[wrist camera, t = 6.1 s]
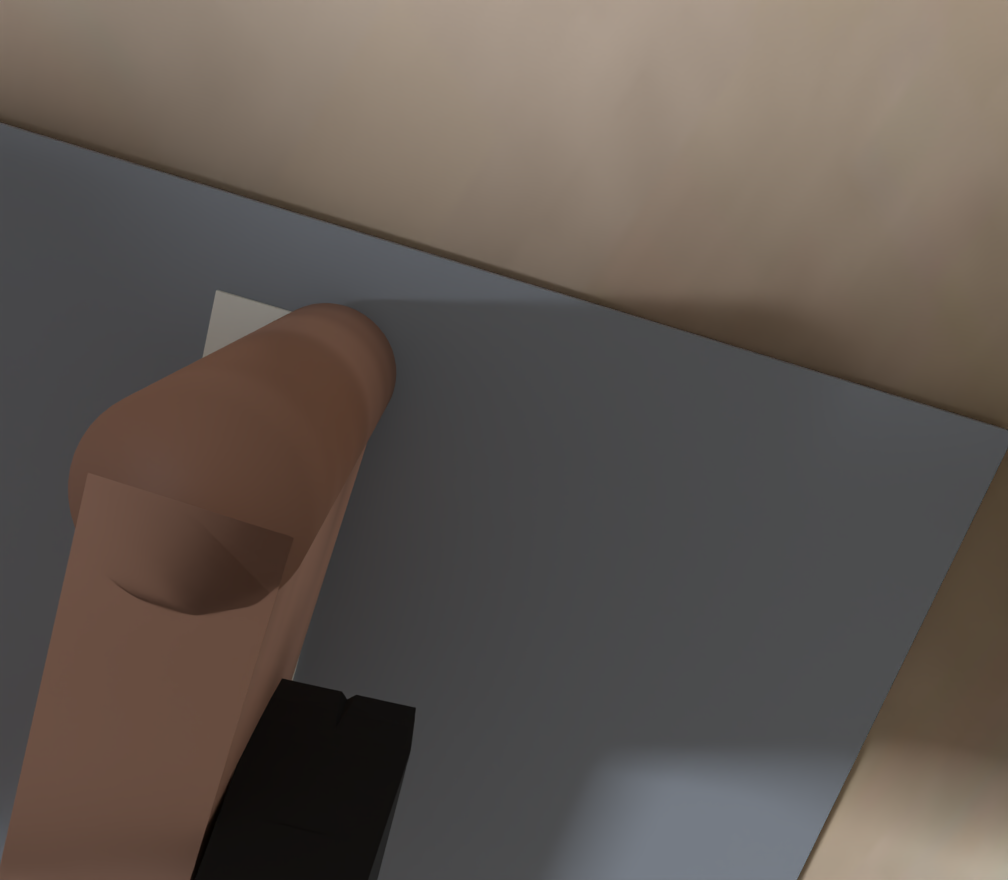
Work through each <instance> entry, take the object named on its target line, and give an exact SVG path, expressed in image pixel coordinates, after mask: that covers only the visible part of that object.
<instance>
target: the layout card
mask: <svg viewBox="0 0 1008 880" xmlns="http://www.w3.org/2000/svg"><path fill="white" fill-rule="evenodd" d="M318 303H333V304H340V305H343V306H347V307H350V308H352V309H355V310H357V311H359V312H360V313H362V314H364V315H365V316H367V317H368V318H369V319H371V320H372V321H373V322H374V323H375V324H376V325H377V326H378V327H379V328H380V330H381V331H382V332H383V333H384V335H385V336H386V338H387V340H388V341H389V344H390V346H391V348H392V351H393V354H394V357H395V363H396V383H395V387H394V392H393V394H392V397H391V399H390V401H389V403H388V405H387V407H386V409H385V410H384V412H383V414H382V416H381V418H380V420H379V422H378V423H377V425H376V427H375V429H374V431H373V433H372V434H371V436H370V438H369V440H368V442H367V445H366V448H365V451H364V454H363V457H362V460H361V464H360V467H359V470H358V473H357V476H356V479H355V482H354V486H353V489H352V492H351V495H350V498H349V501H348V504H347V508H346V511H345V514H344V517H343V520H342V523H341V526H340V530H339V533H338V536H337V539H336V542H335V545H334V548H333V552H332V555H331V558H330V561H329V564H328V567H327V570H326V574H325V577H324V580H323V583H322V586H321V589H320V592H319V595H318V599H317V602H316V605H315V608H314V611H313V614H312V617H311V621H310V624H309V627H308V630H307V633H306V636H305V639H304V643H303V646H302V649H301V652H300V655H299V658H298V661H297V665H296V668H295V671H294V674H293V677H292V681H296V682H301V683H306V684H310V685H315V686H319V687H324V688H328V689H333V690H338V691H342V692H343V694H344V695H345V697H346V698H347V699H349V698H351V697H353V696H354V695H360V696H365V697H370V698H374V699H379V700H383V701H388V702H392V703H397V704H402V705H406V706H411V707H415V708H416V712H415V722H414V730H413V738H412V745H411V752H410V756H409V760H408V763H407V767H406V771H405V775H404V779H403V783H402V787H401V790H400V794H399V798H398V802H397V806H396V810H395V814H394V817H393V821H392V825H391V829H390V833H389V837H388V841H387V845H386V848H385V852H384V856H383V860H382V864H381V868H380V872H379V875H378V879H377V880H797V878H798V876H799V874H800V872H801V870H802V868H803V866H804V864H805V862H806V860H807V858H808V856H809V854H810V852H811V850H812V848H813V846H814V844H815V841H816V839H817V837H818V835H819V833H820V831H821V829H822V827H823V825H824V823H825V821H826V819H827V817H828V815H829V813H830V811H831V809H832V807H833V805H834V803H835V801H836V798H837V796H838V794H839V792H840V790H841V788H842V786H843V784H844V782H845V780H846V778H847V776H848V774H849V772H850V770H851V768H852V766H853V764H854V762H855V760H856V758H857V756H858V753H859V751H860V749H861V747H862V745H863V743H864V741H865V739H866V737H867V735H868V733H869V731H870V729H871V727H872V725H873V723H874V721H875V719H876V717H877V715H878V713H879V711H880V708H881V706H882V704H883V702H884V700H885V698H886V696H887V694H888V692H889V690H890V688H891V686H892V684H893V682H894V680H895V678H896V676H897V674H898V672H899V670H900V668H901V665H902V663H903V661H904V659H905V657H906V655H907V653H908V651H909V649H910V647H911V645H912V643H913V641H914V639H915V637H916V635H917V633H918V631H919V629H920V627H921V625H922V623H923V620H924V618H925V616H926V614H927V612H928V610H929V608H930V606H931V604H932V602H933V600H934V598H935V596H936V594H937V592H938V590H939V588H940V586H941V584H942V582H943V580H944V578H945V575H946V573H947V571H948V569H949V567H950V565H951V563H952V561H953V559H954V557H955V555H956V553H957V551H958V549H959V547H960V545H961V543H962V541H963V539H964V537H965V535H966V532H967V530H968V528H969V526H970V524H971V522H972V520H973V518H974V516H975V514H976V512H977V510H978V508H979V506H980V504H981V502H982V500H983V498H984V496H985V494H986V492H987V490H988V487H989V485H990V483H991V481H992V479H993V477H994V475H995V473H996V471H997V469H998V467H999V465H1000V463H1001V461H1002V459H1003V457H1004V455H1005V453H1006V451H1007V449H1008V430H1007V429H1005V428H1001V427H998V426H995V425H992V424H988V423H985V422H982V421H978V420H975V419H972V418H969V417H965V416H962V415H959V414H955V413H952V412H949V411H946V410H942V409H939V408H936V407H933V406H929V405H926V404H923V403H919V402H916V401H913V400H910V399H906V398H903V397H900V396H896V395H893V394H890V393H887V392H883V391H880V390H877V389H874V388H870V387H867V386H864V385H860V384H857V383H854V382H851V381H847V380H844V379H841V378H837V377H834V376H831V375H828V374H824V373H821V372H818V371H814V370H811V369H808V368H805V367H801V366H798V365H795V364H792V363H788V362H785V361H782V360H778V359H775V358H772V357H769V356H765V355H762V354H759V353H755V352H752V351H749V350H746V349H742V348H739V347H736V346H733V345H729V344H726V343H723V342H719V341H716V340H713V339H710V338H706V337H703V336H700V335H696V334H693V333H690V332H687V331H683V330H680V329H677V328H673V327H670V326H667V325H664V324H660V323H657V322H654V321H651V320H647V319H644V318H641V317H637V316H634V315H631V314H628V313H624V312H621V311H618V310H614V309H611V308H608V307H605V306H601V305H598V304H595V303H591V302H588V301H585V300H582V299H578V298H575V297H572V296H569V295H565V294H562V293H559V292H555V291H552V290H549V289H546V288H542V287H539V286H536V285H532V284H529V283H526V282H523V281H519V280H516V279H513V278H510V277H506V276H503V275H500V274H496V273H493V272H490V271H487V270H483V269H480V268H477V267H473V266H470V265H467V264H464V263H460V262H457V261H454V260H450V259H447V258H444V257H441V256H437V255H434V254H431V253H428V252H424V251H421V250H418V249H414V248H411V247H408V246H405V245H401V244H398V243H395V242H391V241H388V240H385V239H382V238H378V237H375V236H372V235H369V234H365V233H362V232H359V231H355V230H352V229H349V228H346V227H342V226H339V225H336V224H332V223H329V222H326V221H323V220H319V219H316V218H313V217H309V216H306V215H303V214H300V213H296V212H293V211H290V210H287V209H283V208H280V207H277V206H273V205H270V204H267V203H264V202H260V201H257V200H254V199H250V198H247V197H244V196H241V195H237V194H234V193H231V192H228V191H224V190H221V189H218V188H214V187H211V186H208V185H205V184H201V183H198V182H195V181H191V180H188V179H185V178H182V177H178V176H175V175H172V174H168V173H165V172H162V171H159V170H155V169H152V168H149V167H146V166H142V165H139V164H136V163H132V162H129V161H126V160H123V159H119V158H116V157H113V156H109V155H106V154H103V153H100V152H96V151H93V150H90V149H87V148H83V147H80V146H77V145H73V144H70V143H67V142H64V141H60V140H57V139H54V138H50V137H47V136H44V135H41V134H37V133H34V132H31V131H27V130H24V129H21V128H18V127H14V126H11V125H8V124H5V123H1V122H0V863H1V859H2V854H3V850H4V845H5V841H6V836H7V832H8V827H9V823H10V818H11V814H12V809H13V805H14V800H15V796H16V792H17V787H18V783H19V778H20V774H21V769H22V765H23V760H24V756H25V751H26V747H27V742H28V738H29V734H30V729H31V725H32V720H33V716H34V711H35V707H36V702H37V698H38V693H39V689H40V684H41V680H42V675H43V671H44V667H45V662H46V658H47V653H48V649H49V644H50V640H51V635H52V631H53V626H54V622H55V617H56V613H57V609H58V604H59V600H60V595H61V591H62V586H63V582H64V577H65V573H66V568H67V564H68V559H69V555H70V550H71V546H72V542H73V537H74V533H75V526H74V523H73V519H72V516H71V512H70V506H69V499H68V480H69V473H70V466H71V463H72V460H73V456H74V453H75V451H76V449H77V446H78V444H79V442H80V440H81V438H82V437H83V435H84V434H85V432H86V431H87V429H88V428H89V426H90V425H91V424H92V423H93V422H94V421H95V420H96V419H97V418H98V417H99V416H100V415H101V414H102V413H103V412H104V411H106V410H107V409H108V408H109V407H111V406H112V405H114V404H115V403H117V402H119V401H121V400H122V399H124V398H126V397H128V396H130V395H132V394H133V393H135V392H137V391H139V390H141V389H143V388H145V387H147V386H149V385H151V384H153V383H155V382H157V381H159V380H161V379H163V378H164V377H166V376H168V375H170V374H172V373H174V372H176V371H178V370H180V369H182V368H184V367H186V366H188V365H190V364H192V363H194V362H196V361H197V360H199V359H201V358H203V357H205V356H207V355H209V354H211V353H213V352H215V351H217V350H219V349H221V348H223V347H225V346H227V345H229V344H230V343H232V342H234V341H236V340H238V339H240V338H242V337H244V336H246V335H248V334H250V333H252V332H254V331H256V330H258V329H260V328H261V327H263V326H265V325H267V324H269V323H271V322H273V321H275V320H277V319H279V318H281V317H283V316H285V315H287V314H289V313H291V312H293V311H294V310H297V309H299V308H301V307H304V306H307V305H311V304H318Z"/></svg>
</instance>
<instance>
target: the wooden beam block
mask: <svg viewBox="0 0 1008 880" xmlns="http://www.w3.org/2000/svg"><path fill="white" fill-rule="evenodd" d="M395 383H396V363H395V357H394V354H393V351H392V348H391V346H390V344H389V341H388V340H387V338H386V336H385V335H384V333H383V332H382V331H381V330H380V328H379V327H378V326H377V325H376V324H375V323H374V322H373V321H372V320H371V319H369V318H368V317H367V316H365V315H364V314H362V313H360V312H359V311H357V310H355V309H352V308H350V307H347V306H343V305H340V304H333V303H318V304H311V305H307V306H304V307H301V308H299V309H297V310H294V311H293V312H291V313H289V314H287V315H285V316H283V317H281V318H279V319H277V320H275V321H273V322H271V323H269V324H267V325H265V326H263V327H261V328H260V329H258V330H256V331H254V332H252V333H250V334H248V335H246V336H244V337H242V338H240V339H238V340H236V341H234V342H232V343H230V344H229V345H227V346H225V347H223V348H221V349H219V350H217V351H215V352H213V353H211V354H209V355H207V356H205V357H203V358H201V359H199V360H197V361H196V362H194V363H192V364H190V365H188V366H186V367H184V368H182V369H180V370H178V371H176V372H174V373H172V374H170V375H168V376H166V377H164V378H163V379H161V380H159V381H157V382H155V383H153V384H151V385H149V386H147V387H145V388H143V389H141V390H139V391H137V392H135V393H133V394H132V395H130V396H128V397H126V398H124V399H122V400H121V401H119V402H117V403H115V404H114V405H112V406H111V407H109V408H108V409H107V410H106V411H104V412H103V413H102V414H101V415H100V416H99V417H98V418H97V419H96V420H95V421H94V422H93V423H92V424H91V425H90V426H89V428H88V429H87V431H86V432H85V434H84V435H83V437H82V438H81V440H80V442H79V444H78V446H77V449H76V451H75V453H74V456H73V460H72V463H71V466H70V473H69V480H68V499H69V506H70V512H71V516H72V519H73V523H74V526H75V533H74V537H73V542H72V546H71V550H70V555H69V559H68V564H67V568H66V573H65V577H64V582H63V586H62V591H61V595H60V600H59V604H58V609H57V613H56V617H55V622H54V626H53V631H52V635H51V640H50V644H49V649H48V653H47V658H46V662H45V667H44V671H43V675H42V680H41V684H40V689H39V693H38V698H37V702H36V707H35V711H34V716H33V720H32V725H31V729H30V734H29V738H28V742H27V747H26V751H25V756H24V760H23V765H22V769H21V774H20V778H19V783H18V787H17V792H16V796H15V800H14V805H13V809H12V814H11V818H10V823H9V827H8V832H7V836H6V841H5V845H4V850H3V854H2V859H1V863H0V880H194V879H195V878H196V875H197V873H198V870H199V867H200V864H201V862H202V859H203V856H204V853H205V851H206V848H207V845H208V842H209V840H210V837H211V834H212V832H213V829H214V826H215V823H216V821H217V818H218V815H219V812H220V810H221V807H222V804H223V801H224V799H225V796H226V793H227V791H228V788H229V785H230V782H231V780H232V777H233V774H234V771H235V769H236V766H237V763H238V761H239V759H240V757H241V755H242V753H243V751H244V749H245V747H246V745H247V743H248V741H249V739H250V737H251V735H252V733H253V731H254V730H255V728H256V726H257V724H258V722H259V720H260V718H261V716H262V714H263V712H264V710H265V708H266V706H267V704H268V703H269V701H270V699H271V697H272V695H273V693H274V692H275V690H276V688H277V686H278V685H279V683H280V681H281V679H282V678H283V679H287V680H292V677H293V674H294V671H295V668H296V665H297V661H298V658H299V655H300V652H301V649H302V646H303V643H304V639H305V636H306V633H307V630H308V627H309V624H310V621H311V617H312V614H313V611H314V608H315V605H316V602H317V599H318V595H319V592H320V589H321V586H322V583H323V580H324V577H325V574H326V570H327V567H328V564H329V561H330V558H331V555H332V552H333V548H334V545H335V542H336V539H337V536H338V533H339V530H340V526H341V523H342V520H343V517H344V514H345V511H346V508H347V504H348V501H349V498H350V495H351V492H352V489H353V486H354V482H355V479H356V476H357V473H358V470H359V467H360V464H361V460H362V457H363V454H364V451H365V448H366V445H367V442H368V440H369V438H370V436H371V434H372V433H373V431H374V429H375V427H376V425H377V423H378V422H379V420H380V418H381V416H382V414H383V412H384V410H385V409H386V407H387V405H388V403H389V401H390V399H391V397H392V394H393V392H394V387H395Z"/></svg>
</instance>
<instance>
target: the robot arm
mask: <svg viewBox="0 0 1008 880" xmlns="http://www.w3.org/2000/svg"><path fill="white" fill-rule="evenodd" d="M415 712H416V708H415V707H411V706H406V705H402V704H397V703H392V702H388V701H383V700H379V699H374V698H370V697H365V696H360V695H354V696H353V697H351V698H349V699H347V698H346V697H345V695H344V694H343V692H342V691H338V690H333V689H328V688H324V687H319V686H315V685H310V684H306V683H301V682H296V681H292V680H287V679H283V678H282V679H281V681H280V683H279V685H278V686H277V688H276V690H275V692H274V693H273V695H272V697H271V699H270V701H269V703H268V704H267V706H266V708H265V710H264V712H263V714H262V716H261V718H260V720H259V722H258V724H257V726H256V728H255V730H254V731H253V733H252V735H251V737H250V739H249V741H248V743H247V745H246V747H245V749H244V751H243V753H242V755H241V757H240V759H239V761H238V763H237V766H236V769H235V771H234V774H233V777H232V780H231V782H230V785H229V788H228V791H227V793H226V796H225V799H224V801H223V804H222V807H221V810H220V812H219V815H218V818H217V821H216V823H215V826H214V829H213V832H212V834H211V837H210V840H209V842H208V845H207V848H206V851H205V853H204V856H203V859H202V862H201V864H200V867H199V870H198V873H197V875H196V878H195V879H194V880H377V879H378V875H379V872H380V868H381V864H382V860H383V856H384V852H385V848H386V845H387V841H388V837H389V833H390V829H391V825H392V821H393V817H394V814H395V810H396V806H397V802H398V798H399V794H400V790H401V787H402V783H403V779H404V775H405V771H406V767H407V763H408V760H409V756H410V752H411V745H412V738H413V730H414V722H415Z"/></svg>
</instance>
